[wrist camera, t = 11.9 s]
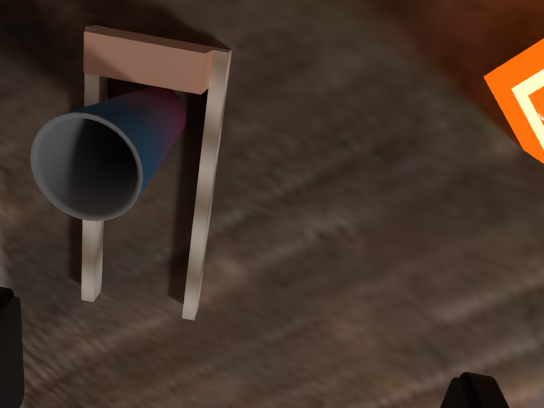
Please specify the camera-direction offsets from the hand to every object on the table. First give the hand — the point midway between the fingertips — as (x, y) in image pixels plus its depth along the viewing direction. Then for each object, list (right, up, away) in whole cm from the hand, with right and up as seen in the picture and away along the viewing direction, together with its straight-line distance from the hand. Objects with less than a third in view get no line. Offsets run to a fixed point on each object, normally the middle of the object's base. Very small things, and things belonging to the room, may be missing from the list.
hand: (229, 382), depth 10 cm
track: (-10, +6, +35) cm, 36 cm away
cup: (-9, +12, +32) cm, 35 cm away
